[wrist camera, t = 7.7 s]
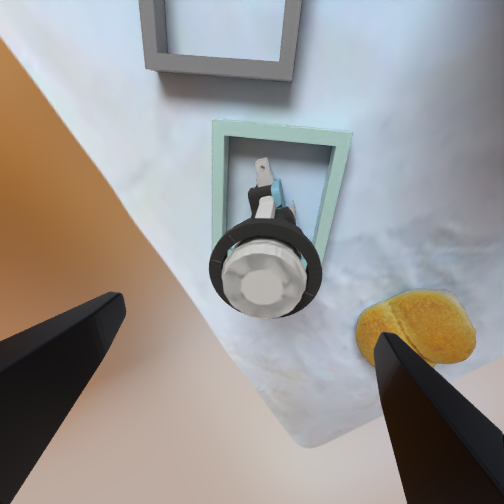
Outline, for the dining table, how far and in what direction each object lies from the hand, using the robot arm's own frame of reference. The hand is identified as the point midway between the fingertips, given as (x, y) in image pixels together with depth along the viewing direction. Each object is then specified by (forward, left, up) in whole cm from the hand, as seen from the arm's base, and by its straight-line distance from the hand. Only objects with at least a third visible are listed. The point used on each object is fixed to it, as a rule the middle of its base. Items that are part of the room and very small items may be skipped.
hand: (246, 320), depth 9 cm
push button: (0, 0, -13) cm, 13 cm away
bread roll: (-13, +10, -13) cm, 21 cm away
